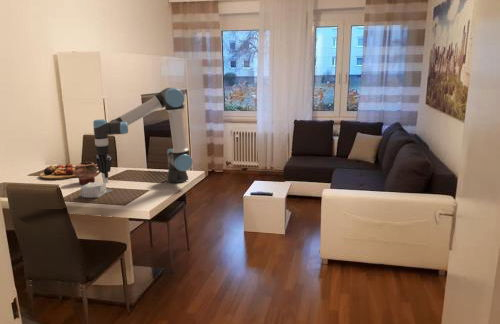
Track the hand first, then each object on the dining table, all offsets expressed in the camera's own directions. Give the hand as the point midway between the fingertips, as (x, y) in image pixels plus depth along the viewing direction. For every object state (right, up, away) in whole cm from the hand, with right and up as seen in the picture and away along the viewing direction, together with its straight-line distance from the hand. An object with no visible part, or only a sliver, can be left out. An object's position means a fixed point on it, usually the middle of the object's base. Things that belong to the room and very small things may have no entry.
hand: (105, 182), depth 235 cm
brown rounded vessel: (-23, -2, +32) cm, 39 cm away
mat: (-8, -7, +6) cm, 12 cm away
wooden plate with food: (-53, +2, +54) cm, 75 cm away
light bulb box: (-2, -4, 0) cm, 5 cm away
